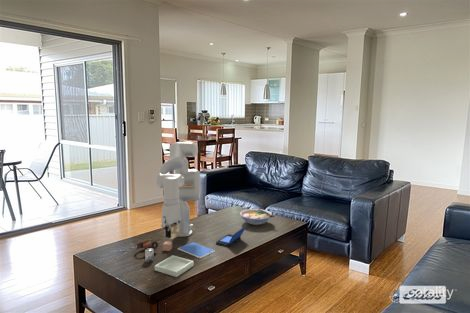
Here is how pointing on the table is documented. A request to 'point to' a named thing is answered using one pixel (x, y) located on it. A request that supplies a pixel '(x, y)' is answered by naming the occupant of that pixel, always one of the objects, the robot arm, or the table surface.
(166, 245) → the terracotta cube
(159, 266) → the tray
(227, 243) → the handheld game console
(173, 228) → the beech block
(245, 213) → the ramen bowl
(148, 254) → the grey canister
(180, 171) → the robot arm
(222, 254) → the table surface
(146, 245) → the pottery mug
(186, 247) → the tablet computer
